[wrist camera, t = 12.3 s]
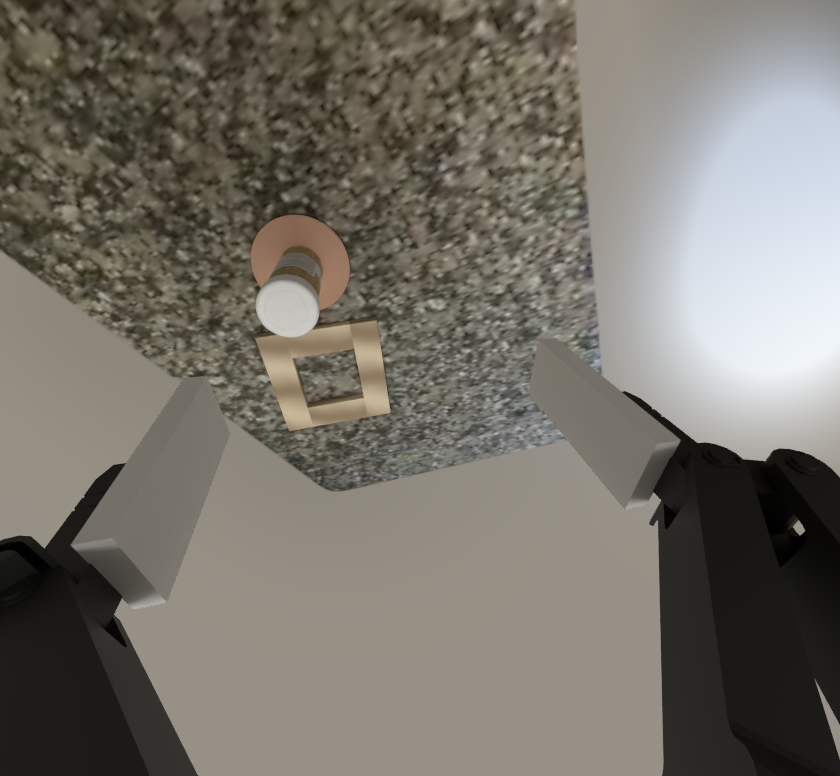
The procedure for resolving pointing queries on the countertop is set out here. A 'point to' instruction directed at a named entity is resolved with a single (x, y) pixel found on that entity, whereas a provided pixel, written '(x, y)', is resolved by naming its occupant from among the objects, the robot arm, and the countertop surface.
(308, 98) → the countertop surface
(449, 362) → the countertop surface
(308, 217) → the coaster
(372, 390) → the collar board
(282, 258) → the sprinkles bottle
